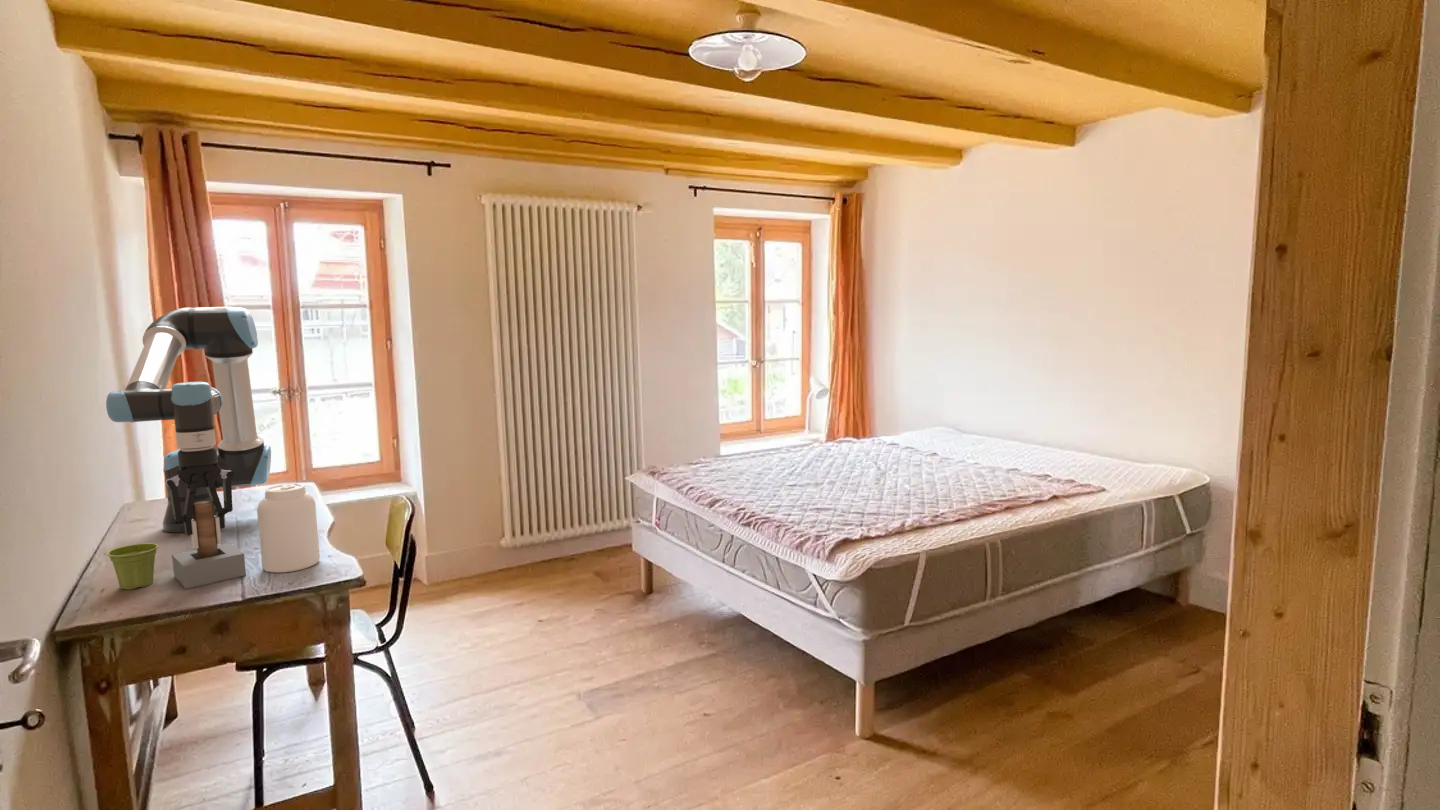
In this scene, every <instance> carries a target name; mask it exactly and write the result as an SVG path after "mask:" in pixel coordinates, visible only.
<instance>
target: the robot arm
mask: <svg viewBox="0 0 1440 810" xmlns="http://www.w3.org/2000/svg"><path fill="white" fill-rule="evenodd" d="M257 333H258V332H257V327H256V324H255V321H254V319H253V316H252V314H251V312H250V311H249V310H248V309H246V308H245V307H236V306H205V307H201V306H200V307H191V306H190V307H188V306H187V307H179V308H176V309H173V310H171V311H168V312H166V313H164V314H163V315H161V316H159V317H158V318H156V319H155V320H154V321H153V322H152V323H150V325H148V326H147V328H146V330H145V332H144V333H143V334H142V335H143V336H142V344H143V347H142V350H141V352H140V354H139V357H138V359H137V362H136V364H135V366H134V368H133V371H132V374H131V376H130V378H129V380H128V382H127V384H126V387H125V389H123V390H122V389H119V390H114V391H111V392H109V393H108V394H107V396H106V402H105V405H106V412H107V413H106V414H107V415H108V418H109V419H110V420H111V421H112V422H114V423H132V424H133V423H138V422H152V421H168V420H169V421H172V420H173V421H174V427H175V428H174V429H175V440H176V448H177V449H176V450H173V451H170V452H168V453H167V454H165V456H164V457H163V472H164V479H165V480H164V483H165V489H166V495H167V496H166V497H167V507H166V510H165V513H164V516H163V519H162V529H163V532H167V533H185V534H186V535H187V536H190V539H191V547H192V548H193V549H194V550H197V548H199V547H198V537H197V528H196V521H195V520H194V514H193V507H194V503H197V502H202V501H213V507H214V518H215V528H216V538H217V545H222V533H221V530H222V529H223V530H224V529H225V528H226V525H225V523H226V514H228V513H232V512H233V510H234V509H233V490H232V488H239V487H240V488H241V487H252V486H258V485H259V486H260V485H264V484H266V483H267V482H268V480H269V477H270V471H271V464H272V463H271V461H272V449H271V446H270V445H267V444H266V445H265V441H264V439H263V438H262V437H260V436H258V433H257V425H256V417H255V409H254V402H253V401H254V400H253V393H252V385H251V378H250V370H249V361H248V359H249V358H250V357H251V356H252V355H253V352H254V351H253V349H255V348H257V347H258V344H259V343H258V342H259V339H258V334H257ZM185 350H203V351H204V357H205V358H207V359H208V360H210V361H211V362H212V370H213V377H214V384H215V387H213V386H211V385H210V384H209V382H206V381H187V382H177V383H174V384H172V386H171V388H167V385H168V383H169V381H170V378H171V375H172V372H173V370H174V367H175V366H176V365H175V364H176V362H177V359H178V356H180V355H182V354H183V353H184V352H185ZM218 413H219V420H220V427H221V435H222V440H221V441H220V442H219V443H218V444H217V442H216V441H217V440H216V433H215V423H214V416H215V415H217V414H218ZM216 444H217V448H216V447H215V446H216ZM217 489H222V490H223V491H222V492H223V493H222V494H223V505H222V503H221V501H220V497H219V494H218V492H217Z"/></svg>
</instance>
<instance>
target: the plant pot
mask: <svg viewBox="0 0 1440 810" xmlns="http://www.w3.org/2000/svg"><path fill="white" fill-rule="evenodd" d="M158 548H159V544H157V543H151V542H149V543H148V542H147V543H146V542H145V543H144V542H141V543H136V544H129V545H123V546H121V547H120V546H119V547H116V548H113V549H111V550H109V551H107V552H106V555H107V556H108V557H109V559H110V561H111V562H112V565H113V568H114V572H115V575H116V578H117V582H118V585H119V587H120V589H122V590H135V589H137V588H140V587H143V588H145V587H147V586H150V585H152V584H153V583H154V573H155V561H156V560H155V559H156V554H157V549H158Z"/></svg>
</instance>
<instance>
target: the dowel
mask: <svg viewBox="0 0 1440 810" xmlns="http://www.w3.org/2000/svg"><path fill="white" fill-rule="evenodd" d="M193 514H194V520H195V521H196V528H197V537H198V547H199V548H197V549H196V550H197V553H198V559H203V558H208V557H213V556H218V548H217V545H218V544H217V538H216V528H215V518H214V507H213V501H202V502H197V503H194V507H193Z"/></svg>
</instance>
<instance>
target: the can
mask: <svg viewBox="0 0 1440 810" xmlns="http://www.w3.org/2000/svg"><path fill="white" fill-rule="evenodd" d="M256 513H257V523H258V534H259V535H258V536H259V544H260V556H261V567H262V568H263V570H264V571H265V572H268V573H277V574H279V573H291V572H296V571H300V570H301V571H302V570H304V569H307V568H310V567H312V566H314V565H315V566H316V564H318V563H319V561H320V557H321V555H320V544H319V543H320V542H319V532H318V530H319V529H318V521H317V506H316V500H315V498H314V496H313V495H311V494H310V493H308V492H307V491H306V487H305V485H303V484H298V483H286V484H279V485H273V486H271V487H268V488H267V489H266V490H265V492H264V497H263V498H262V499H261V500H260V501H259V502H258V505H257V510H256Z"/></svg>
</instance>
